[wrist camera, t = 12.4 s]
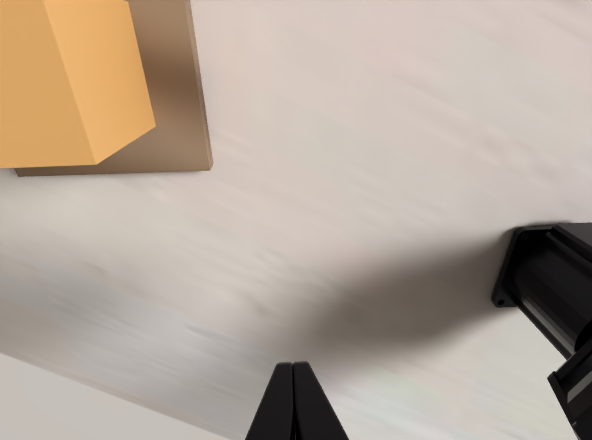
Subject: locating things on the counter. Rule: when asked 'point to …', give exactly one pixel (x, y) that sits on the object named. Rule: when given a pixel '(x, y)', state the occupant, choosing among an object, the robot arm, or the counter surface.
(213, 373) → the counter surface
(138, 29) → the walnut base
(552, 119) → the counter surface
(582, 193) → the counter surface
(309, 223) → the counter surface
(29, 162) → the tan wooden cube
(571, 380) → the robot arm
